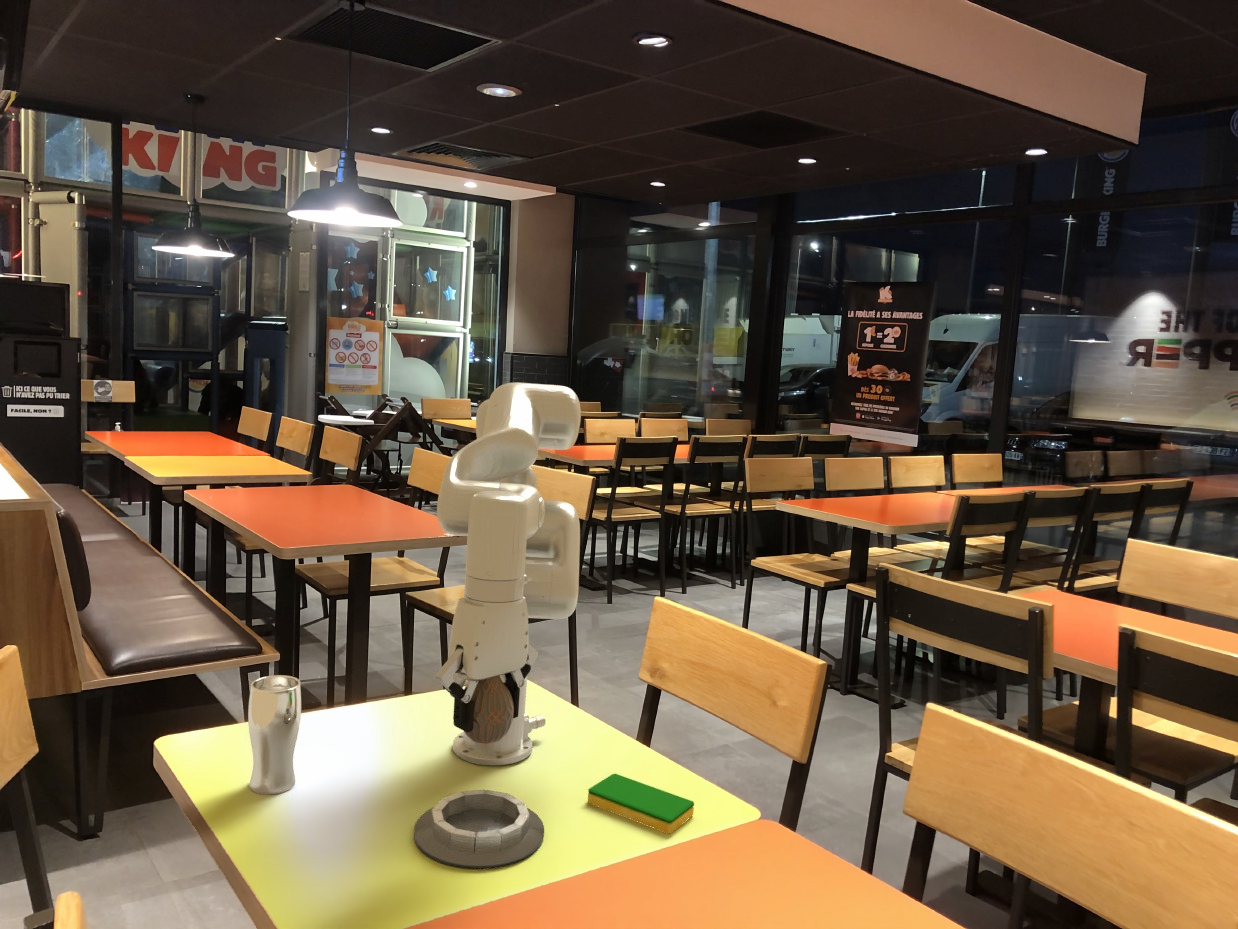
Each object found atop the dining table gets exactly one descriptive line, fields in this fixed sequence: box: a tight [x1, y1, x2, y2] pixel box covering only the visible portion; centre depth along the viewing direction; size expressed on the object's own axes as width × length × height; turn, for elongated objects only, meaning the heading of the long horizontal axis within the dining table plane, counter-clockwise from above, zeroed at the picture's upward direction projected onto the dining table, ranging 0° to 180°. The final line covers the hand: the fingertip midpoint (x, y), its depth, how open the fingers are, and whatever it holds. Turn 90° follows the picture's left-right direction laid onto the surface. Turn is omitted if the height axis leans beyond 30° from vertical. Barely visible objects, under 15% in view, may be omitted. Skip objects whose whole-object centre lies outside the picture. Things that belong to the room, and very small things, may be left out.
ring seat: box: [413, 789, 545, 870], centre depth 122 cm, size 17×17×3 cm
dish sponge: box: [587, 773, 695, 835], centre depth 132 cm, size 7×14×2 cm, turn 57°
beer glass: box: [247, 674, 302, 796], centre depth 130 cm, size 7×7×15 cm
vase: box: [463, 676, 514, 744], centre depth 120 cm, size 7×7×9 cm
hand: (486, 720), depth 120 cm, fingers closed on vase, 6 cm apart
